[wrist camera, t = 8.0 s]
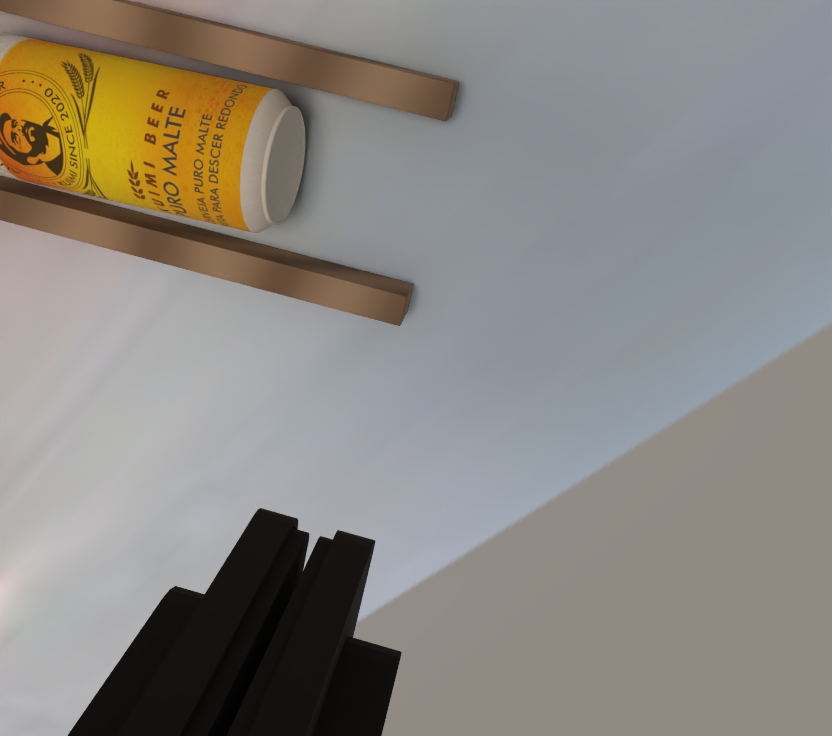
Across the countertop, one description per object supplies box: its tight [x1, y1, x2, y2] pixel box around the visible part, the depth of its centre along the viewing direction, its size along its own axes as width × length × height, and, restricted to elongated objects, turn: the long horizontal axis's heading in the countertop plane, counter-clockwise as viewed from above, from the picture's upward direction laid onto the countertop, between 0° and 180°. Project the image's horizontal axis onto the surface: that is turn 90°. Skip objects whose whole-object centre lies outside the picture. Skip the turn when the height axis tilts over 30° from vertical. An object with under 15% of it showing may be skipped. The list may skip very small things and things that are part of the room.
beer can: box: [0, 32, 305, 233], centre depth 33 cm, size 6×6×15 cm
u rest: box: [0, 0, 459, 326], centre depth 34 cm, size 26×11×4 cm, turn 77°
